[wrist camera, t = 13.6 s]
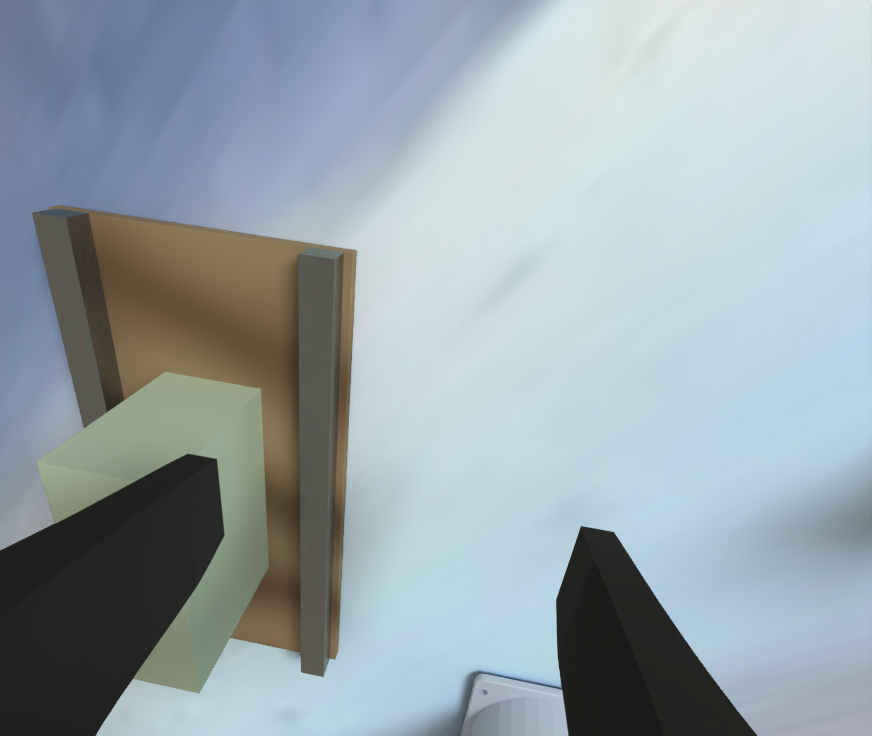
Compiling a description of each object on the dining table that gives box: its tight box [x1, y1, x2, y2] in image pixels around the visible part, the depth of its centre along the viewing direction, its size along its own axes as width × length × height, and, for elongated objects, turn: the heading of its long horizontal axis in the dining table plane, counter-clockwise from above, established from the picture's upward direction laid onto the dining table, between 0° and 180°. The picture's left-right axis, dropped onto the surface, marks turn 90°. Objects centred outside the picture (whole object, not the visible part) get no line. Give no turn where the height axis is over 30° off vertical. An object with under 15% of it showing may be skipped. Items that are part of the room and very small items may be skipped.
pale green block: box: [37, 372, 269, 693], centre depth 19 cm, size 10×4×6 cm, turn 173°
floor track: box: [32, 205, 357, 677], centre depth 22 cm, size 22×11×2 cm, turn 173°
